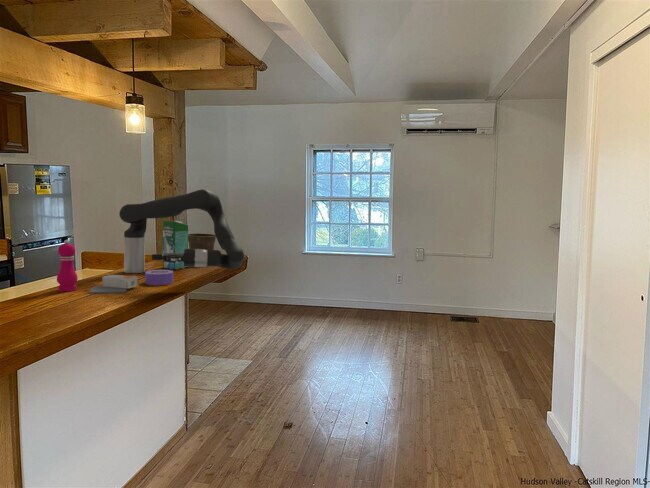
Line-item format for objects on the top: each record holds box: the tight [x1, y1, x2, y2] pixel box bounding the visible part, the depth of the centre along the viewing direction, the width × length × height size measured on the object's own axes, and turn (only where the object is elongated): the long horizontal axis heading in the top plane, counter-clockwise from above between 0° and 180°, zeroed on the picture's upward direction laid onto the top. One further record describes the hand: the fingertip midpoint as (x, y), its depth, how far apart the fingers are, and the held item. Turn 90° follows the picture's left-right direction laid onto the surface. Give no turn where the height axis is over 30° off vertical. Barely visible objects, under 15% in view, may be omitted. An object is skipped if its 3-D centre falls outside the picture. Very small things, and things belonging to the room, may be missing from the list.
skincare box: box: [101, 274, 138, 290], centre depth 193 cm, size 6×4×12 cm
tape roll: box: [144, 269, 174, 286], centre depth 207 cm, size 12×12×5 cm
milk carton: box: [162, 219, 189, 270], centre depth 246 cm, size 9×9×25 cm
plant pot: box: [188, 232, 217, 250], centre depth 267 cm, size 16×16×16 cm
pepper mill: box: [56, 239, 78, 292], centre depth 184 cm, size 7×7×20 cm
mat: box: [88, 285, 128, 294], centre depth 189 cm, size 12×13×1 cm
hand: (152, 257), depth 192 cm, fingers closed
